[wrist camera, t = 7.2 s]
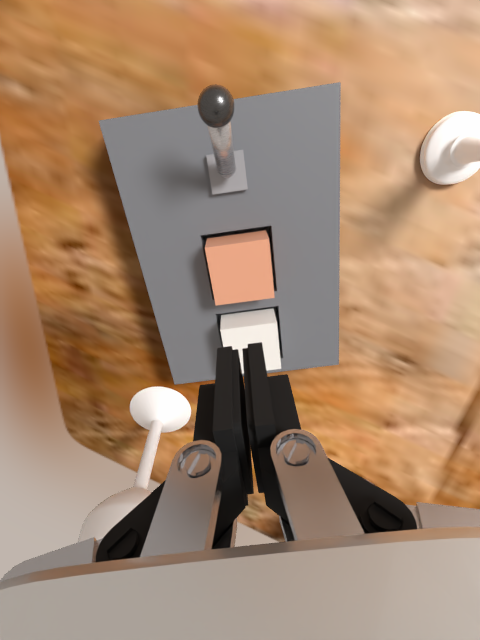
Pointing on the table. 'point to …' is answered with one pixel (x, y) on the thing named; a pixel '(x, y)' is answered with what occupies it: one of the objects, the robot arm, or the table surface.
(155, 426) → the champagne flute
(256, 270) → the button terracotta
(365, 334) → the table surface
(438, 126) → the chess piece
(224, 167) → the toggle lever
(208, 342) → the panel
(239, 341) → the button white
